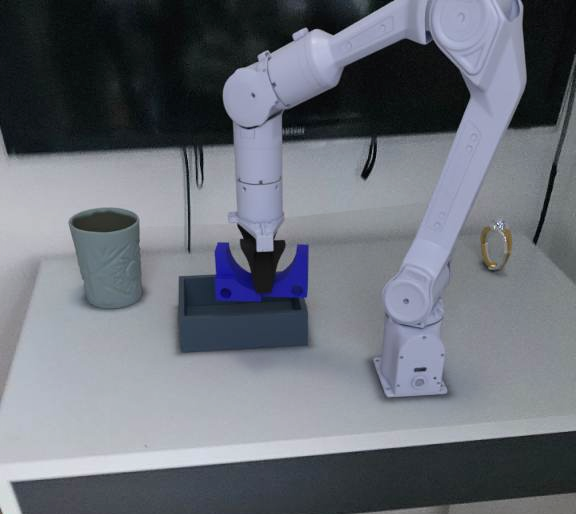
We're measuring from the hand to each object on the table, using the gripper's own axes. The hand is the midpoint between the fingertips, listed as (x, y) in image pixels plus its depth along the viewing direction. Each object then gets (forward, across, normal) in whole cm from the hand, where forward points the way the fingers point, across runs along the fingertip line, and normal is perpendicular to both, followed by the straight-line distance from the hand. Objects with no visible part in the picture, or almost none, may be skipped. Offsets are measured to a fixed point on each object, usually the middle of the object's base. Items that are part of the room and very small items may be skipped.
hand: (261, 283), depth 101 cm
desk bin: (+9, -6, -3) cm, 11 cm away
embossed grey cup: (+9, -18, -22) cm, 29 cm away
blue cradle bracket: (+2, 0, 0) cm, 2 cm away
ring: (+9, -20, +40) cm, 45 cm away
